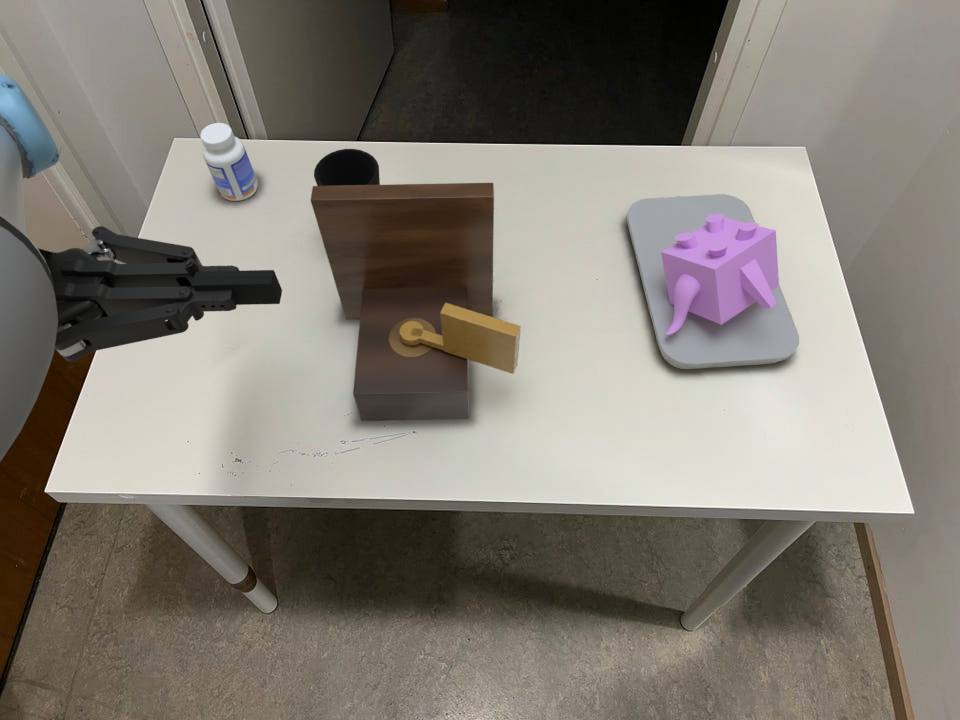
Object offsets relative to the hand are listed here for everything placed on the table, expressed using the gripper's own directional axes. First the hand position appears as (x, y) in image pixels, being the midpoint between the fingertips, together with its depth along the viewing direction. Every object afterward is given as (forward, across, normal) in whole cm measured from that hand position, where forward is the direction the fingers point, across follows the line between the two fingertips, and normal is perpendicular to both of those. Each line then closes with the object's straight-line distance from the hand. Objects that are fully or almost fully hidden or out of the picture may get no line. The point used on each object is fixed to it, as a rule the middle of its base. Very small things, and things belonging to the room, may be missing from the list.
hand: (276, 287), depth 58 cm
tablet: (+45, +18, +23) cm, 54 cm away
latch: (+15, +4, +16) cm, 22 cm away
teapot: (+44, +15, +11) cm, 47 cm away
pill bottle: (-16, +36, +23) cm, 46 cm away
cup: (+2, +26, +23) cm, 35 cm away
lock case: (+10, +6, +23) cm, 26 cm away
